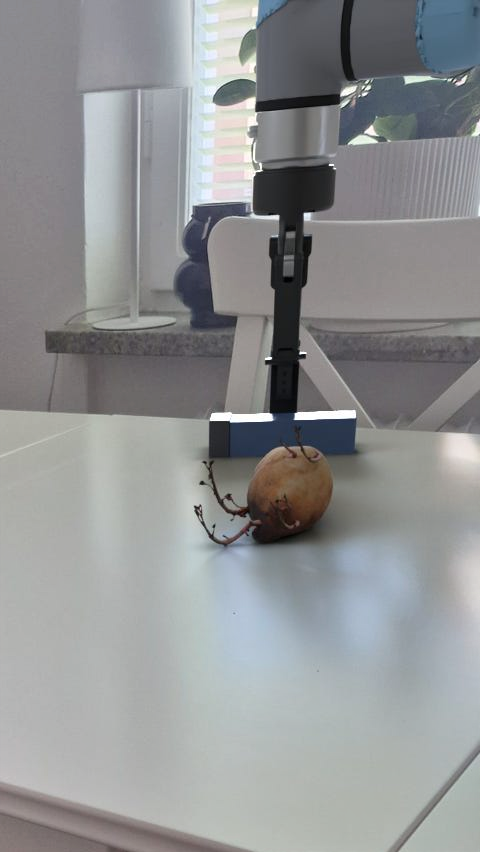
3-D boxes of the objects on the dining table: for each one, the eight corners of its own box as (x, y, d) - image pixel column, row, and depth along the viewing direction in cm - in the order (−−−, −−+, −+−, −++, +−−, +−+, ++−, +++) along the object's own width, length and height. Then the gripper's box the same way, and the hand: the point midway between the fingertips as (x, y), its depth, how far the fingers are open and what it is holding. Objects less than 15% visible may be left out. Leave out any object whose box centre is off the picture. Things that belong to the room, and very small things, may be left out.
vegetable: (181, 465, 102) (239, 356, 96) (290, 521, 103) (354, 416, 98) (172, 525, 89) (238, 404, 84) (297, 588, 90) (371, 472, 85)
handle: (352, 448, 116) (355, 408, 114) (353, 456, 113) (357, 415, 111) (211, 452, 120) (212, 413, 118) (208, 460, 116) (209, 420, 114)
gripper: (256, 166, 113) (248, 419, 125) (249, 169, 103) (241, 445, 115) (336, 159, 112) (320, 416, 124) (337, 162, 101) (320, 443, 113)
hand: (282, 430), depth 119 cm, fingers closed
